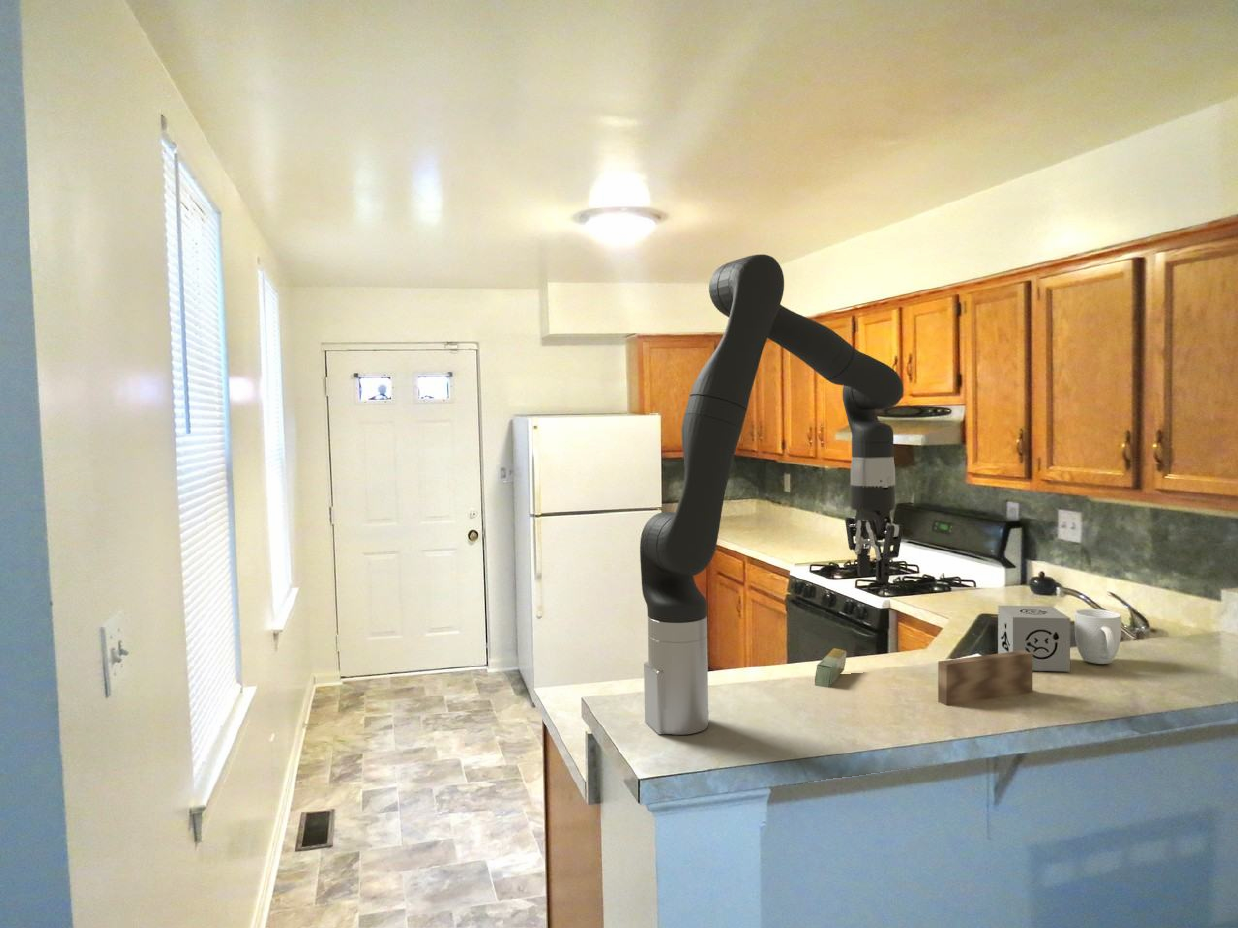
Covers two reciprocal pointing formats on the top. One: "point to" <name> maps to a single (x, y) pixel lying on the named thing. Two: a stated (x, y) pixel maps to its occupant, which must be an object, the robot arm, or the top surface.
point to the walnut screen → (984, 677)
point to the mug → (1097, 634)
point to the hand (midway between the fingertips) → (873, 578)
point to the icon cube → (1036, 635)
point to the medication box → (830, 668)
